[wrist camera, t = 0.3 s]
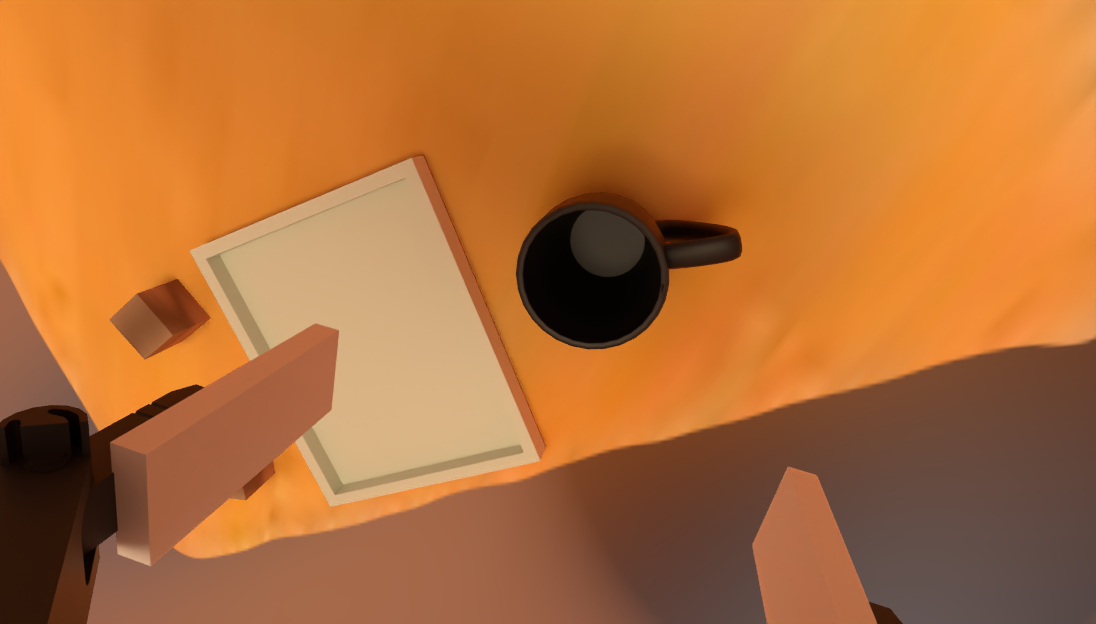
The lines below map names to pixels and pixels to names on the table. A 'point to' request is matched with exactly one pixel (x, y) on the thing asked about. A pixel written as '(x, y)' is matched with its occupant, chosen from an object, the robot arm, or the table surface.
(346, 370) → the tray
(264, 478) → the walnut cube
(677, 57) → the table surface
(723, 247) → the mug
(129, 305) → the walnut cube
